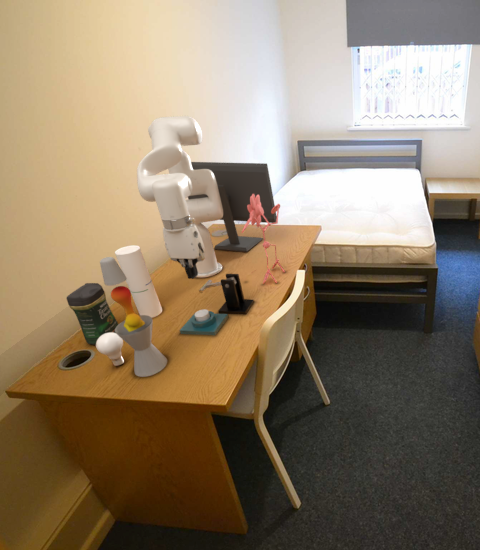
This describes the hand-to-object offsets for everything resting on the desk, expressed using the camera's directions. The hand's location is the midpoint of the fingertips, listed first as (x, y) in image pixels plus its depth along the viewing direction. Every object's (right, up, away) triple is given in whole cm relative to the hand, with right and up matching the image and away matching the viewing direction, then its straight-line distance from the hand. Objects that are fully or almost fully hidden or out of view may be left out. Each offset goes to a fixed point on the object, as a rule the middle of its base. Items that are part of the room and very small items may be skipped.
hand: (193, 276), depth 116 cm
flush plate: (+1, -17, +7) cm, 18 cm away
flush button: (+1, -14, +5) cm, 15 cm away
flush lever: (+4, -4, +12) cm, 13 cm away
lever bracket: (+8, -11, +16) cm, 21 cm away
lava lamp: (-8, -26, -10) cm, 29 cm away
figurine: (+13, 0, +36) cm, 38 cm away
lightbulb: (-18, -26, -9) cm, 33 cm away
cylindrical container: (-22, -13, +15) cm, 30 cm away
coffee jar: (-30, -20, +3) cm, 36 cm away
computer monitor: (-8, +15, +66) cm, 68 cm away
